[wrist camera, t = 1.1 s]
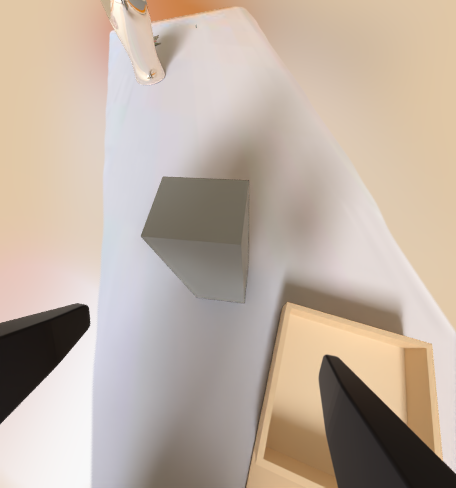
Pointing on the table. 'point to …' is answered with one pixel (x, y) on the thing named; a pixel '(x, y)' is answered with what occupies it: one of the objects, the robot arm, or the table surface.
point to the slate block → (203, 234)
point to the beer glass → (136, 37)
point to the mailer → (309, 399)
